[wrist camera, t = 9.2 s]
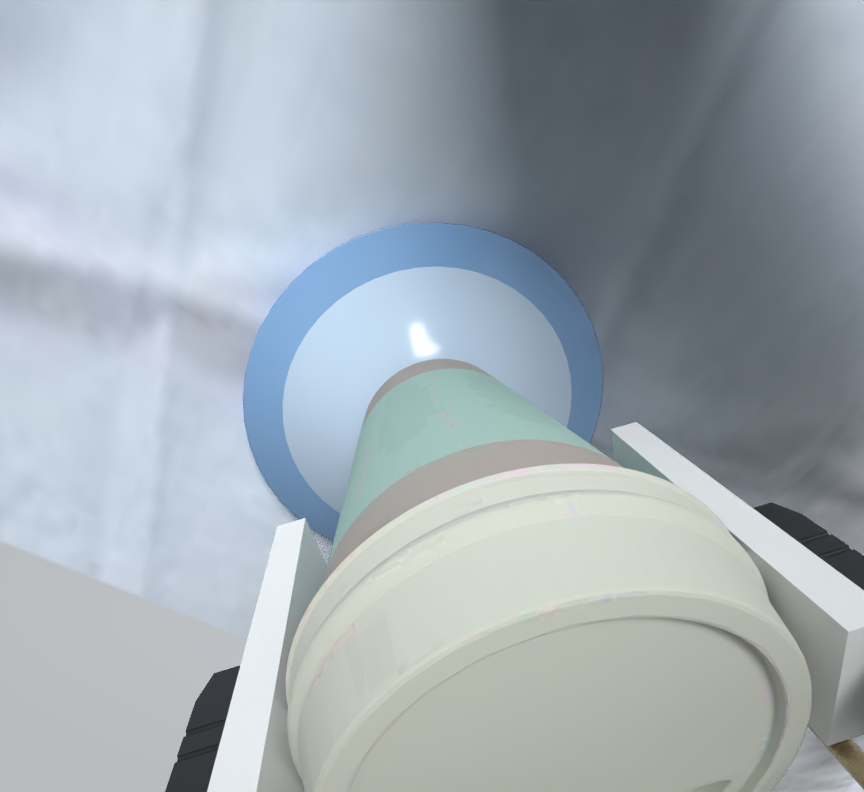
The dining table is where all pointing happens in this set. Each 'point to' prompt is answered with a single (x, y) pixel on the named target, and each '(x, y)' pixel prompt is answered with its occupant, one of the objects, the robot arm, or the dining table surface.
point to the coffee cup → (531, 617)
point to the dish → (406, 347)
